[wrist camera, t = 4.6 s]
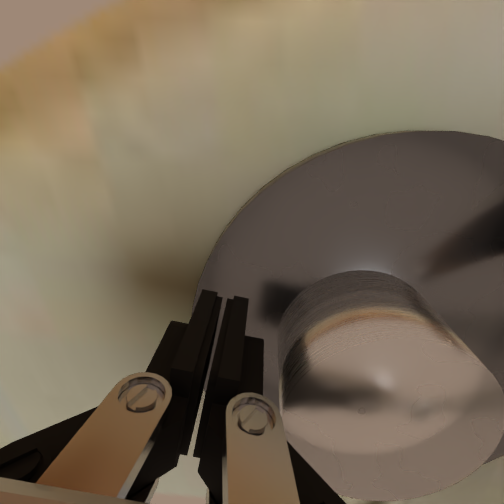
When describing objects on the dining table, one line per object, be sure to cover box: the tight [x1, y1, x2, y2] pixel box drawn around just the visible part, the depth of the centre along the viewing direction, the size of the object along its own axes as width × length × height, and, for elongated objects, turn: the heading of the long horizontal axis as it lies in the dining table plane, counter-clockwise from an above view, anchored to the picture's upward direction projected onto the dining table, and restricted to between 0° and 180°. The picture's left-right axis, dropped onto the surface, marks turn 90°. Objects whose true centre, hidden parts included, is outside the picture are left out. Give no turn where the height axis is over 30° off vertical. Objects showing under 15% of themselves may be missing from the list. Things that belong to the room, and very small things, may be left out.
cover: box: [277, 270, 504, 501], centre depth 11 cm, size 6×6×4 cm
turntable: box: [192, 131, 504, 464], centre depth 11 cm, size 16×16×6 cm
